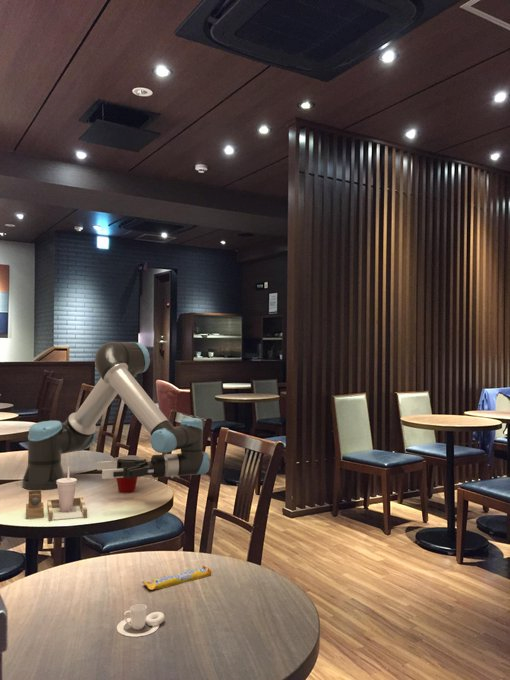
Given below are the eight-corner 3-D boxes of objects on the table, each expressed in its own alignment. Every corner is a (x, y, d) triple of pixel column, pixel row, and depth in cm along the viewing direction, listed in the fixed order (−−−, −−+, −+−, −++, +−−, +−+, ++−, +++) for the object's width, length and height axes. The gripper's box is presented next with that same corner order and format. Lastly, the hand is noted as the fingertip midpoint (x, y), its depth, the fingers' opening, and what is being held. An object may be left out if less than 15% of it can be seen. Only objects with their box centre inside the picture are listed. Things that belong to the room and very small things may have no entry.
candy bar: (205, 571, 138) (205, 563, 138) (214, 577, 135) (214, 569, 135) (140, 587, 128) (140, 579, 128) (148, 594, 125) (149, 586, 125)
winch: (25, 513, 181) (26, 490, 181) (42, 511, 182) (43, 489, 182) (25, 519, 175) (26, 495, 175) (43, 517, 176) (44, 494, 176)
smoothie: (70, 513, 181) (71, 469, 181) (51, 512, 182) (52, 467, 182) (80, 508, 187) (81, 465, 187) (62, 506, 188) (63, 463, 188)
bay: (47, 507, 187) (47, 499, 187) (82, 504, 191) (82, 497, 191) (49, 521, 173) (49, 512, 173) (87, 517, 177) (87, 509, 177)
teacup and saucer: (165, 618, 114) (166, 598, 114) (160, 639, 106) (161, 617, 106) (121, 618, 114) (121, 597, 114) (112, 639, 106) (113, 616, 106)
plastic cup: (104, 492, 207) (105, 459, 207) (122, 486, 217) (123, 454, 217) (130, 496, 203) (131, 462, 203) (147, 489, 213) (147, 456, 213)
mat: (52, 514, 179) (52, 513, 179) (80, 512, 182) (80, 511, 182) (53, 520, 174) (53, 519, 174) (82, 517, 177) (82, 516, 177)
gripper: (172, 485, 184) (104, 490, 176) (156, 469, 207) (95, 473, 200) (172, 461, 184) (104, 465, 177) (156, 448, 208) (95, 452, 200)
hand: (99, 470), depth 188 cm, fingers open, 13 cm apart
